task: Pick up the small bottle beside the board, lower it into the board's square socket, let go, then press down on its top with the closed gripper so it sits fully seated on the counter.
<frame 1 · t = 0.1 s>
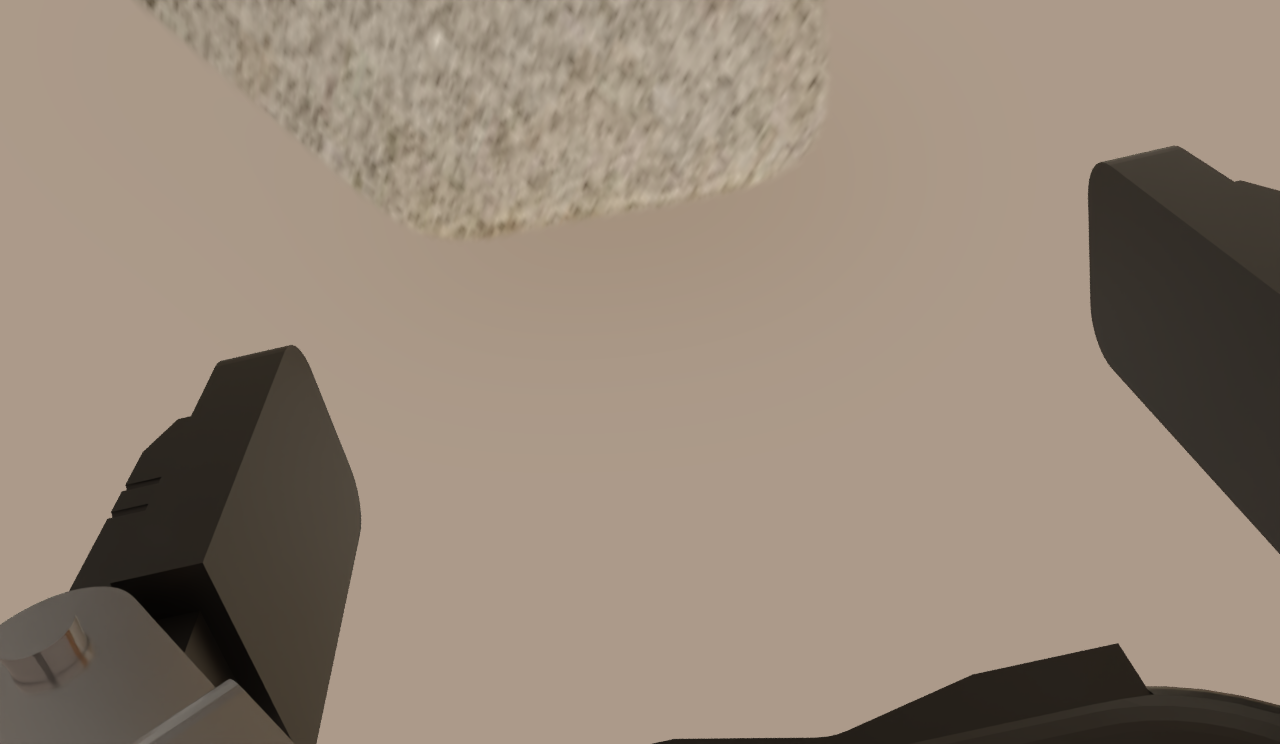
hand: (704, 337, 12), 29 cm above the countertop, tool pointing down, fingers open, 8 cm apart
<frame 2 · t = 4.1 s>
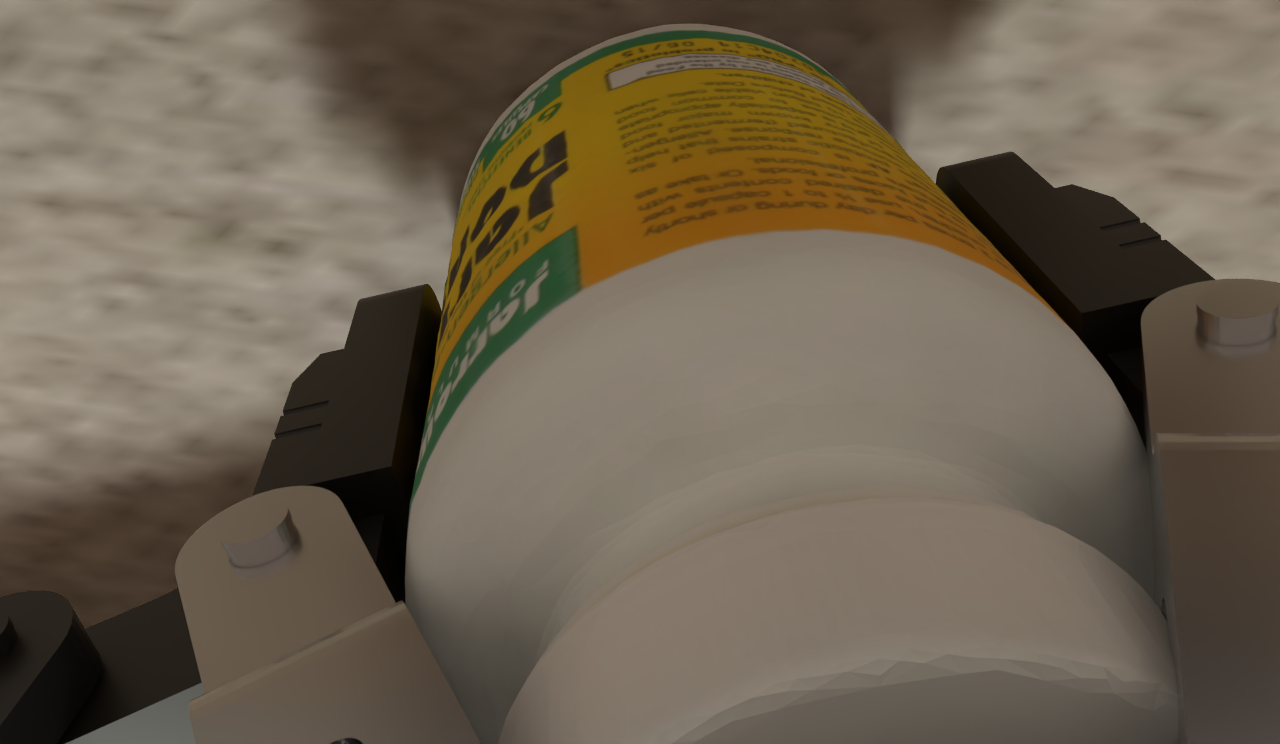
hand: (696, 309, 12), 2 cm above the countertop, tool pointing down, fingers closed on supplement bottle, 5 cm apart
supplement bottle: (677, 231, 14), on the countertop, touching gripper
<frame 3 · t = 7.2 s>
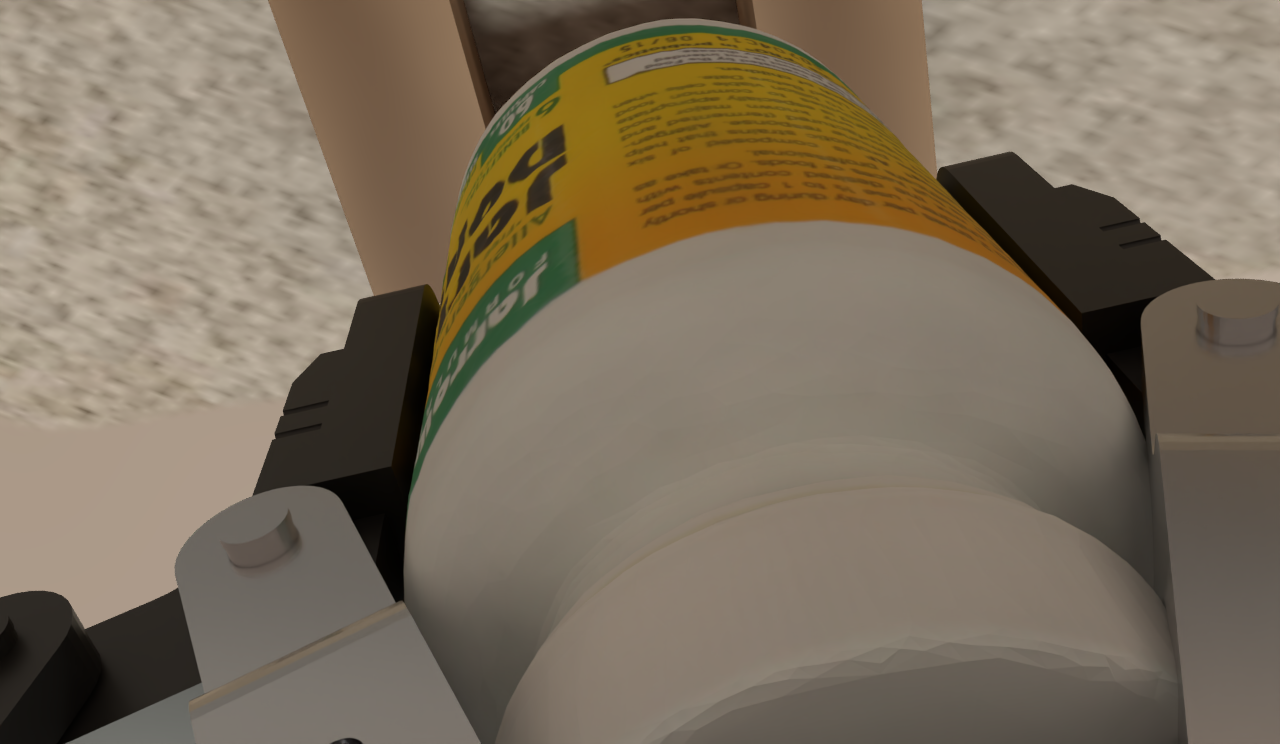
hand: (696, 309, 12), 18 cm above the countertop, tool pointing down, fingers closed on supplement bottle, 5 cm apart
supplement bottle: (675, 226, 14), point 16 cm above the countertop, touching gripper
when the fingers open (5 cm above the countertop, at t = 10.4 s): supplement bottle drops 3 cm, resting in socket board.
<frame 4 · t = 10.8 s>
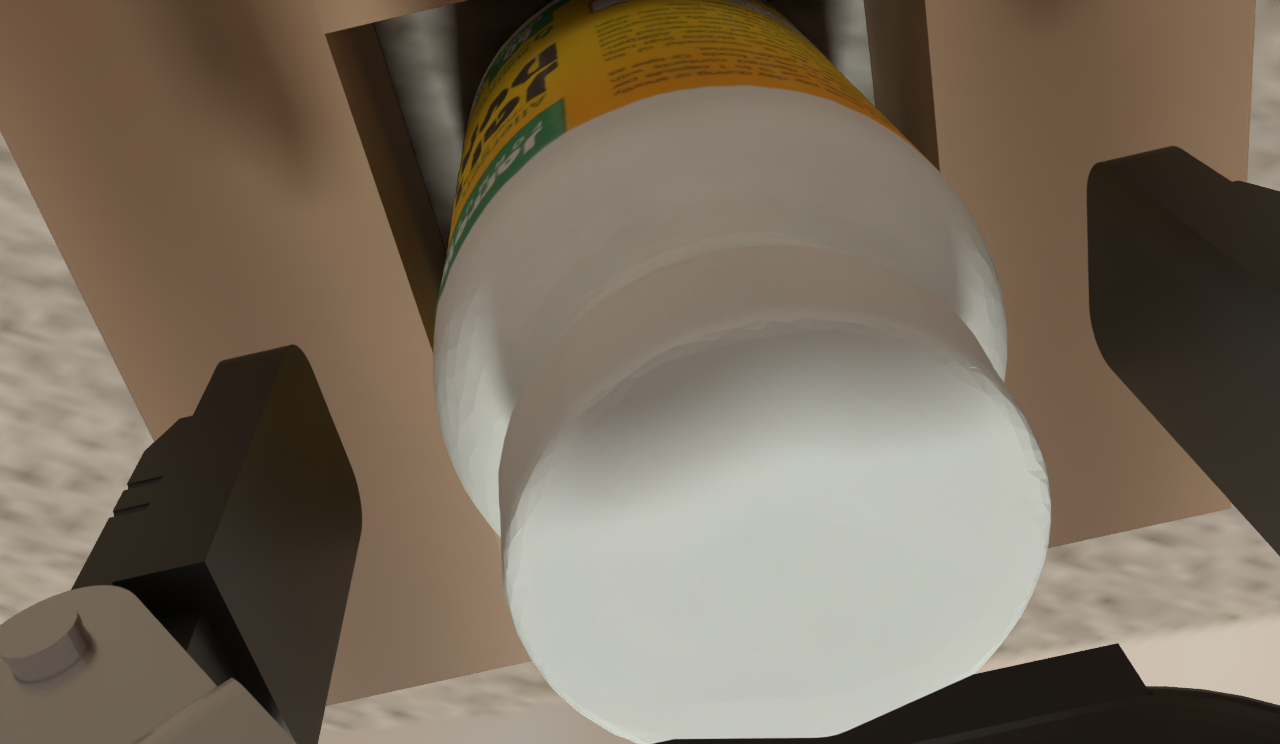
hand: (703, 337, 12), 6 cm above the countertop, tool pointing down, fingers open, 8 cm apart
socket board: (652, 158, 17), on the countertop
supplement bottle: (651, 149, 17), resting in socket board
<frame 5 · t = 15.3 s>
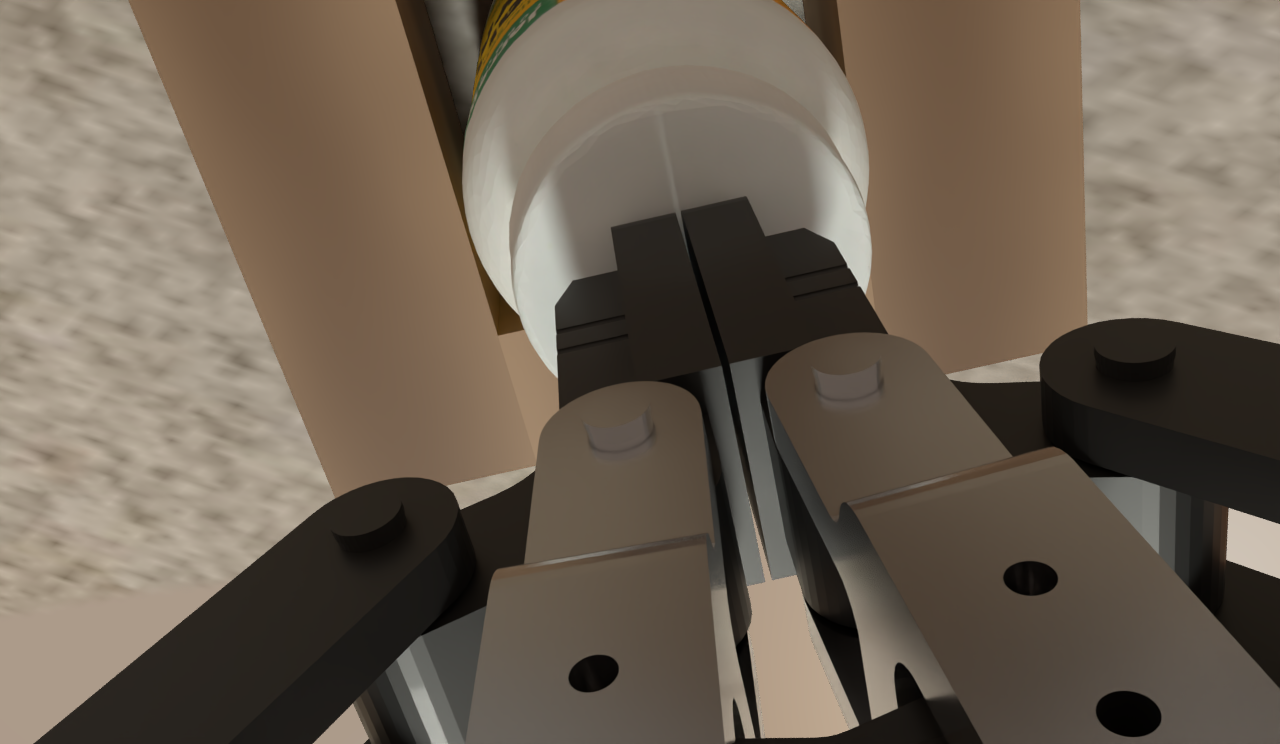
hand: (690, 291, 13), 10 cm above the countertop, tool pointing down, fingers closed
socket board: (629, 65, 21), on the countertop
supplement bottle: (628, 58, 21), resting in socket board, touching gripper
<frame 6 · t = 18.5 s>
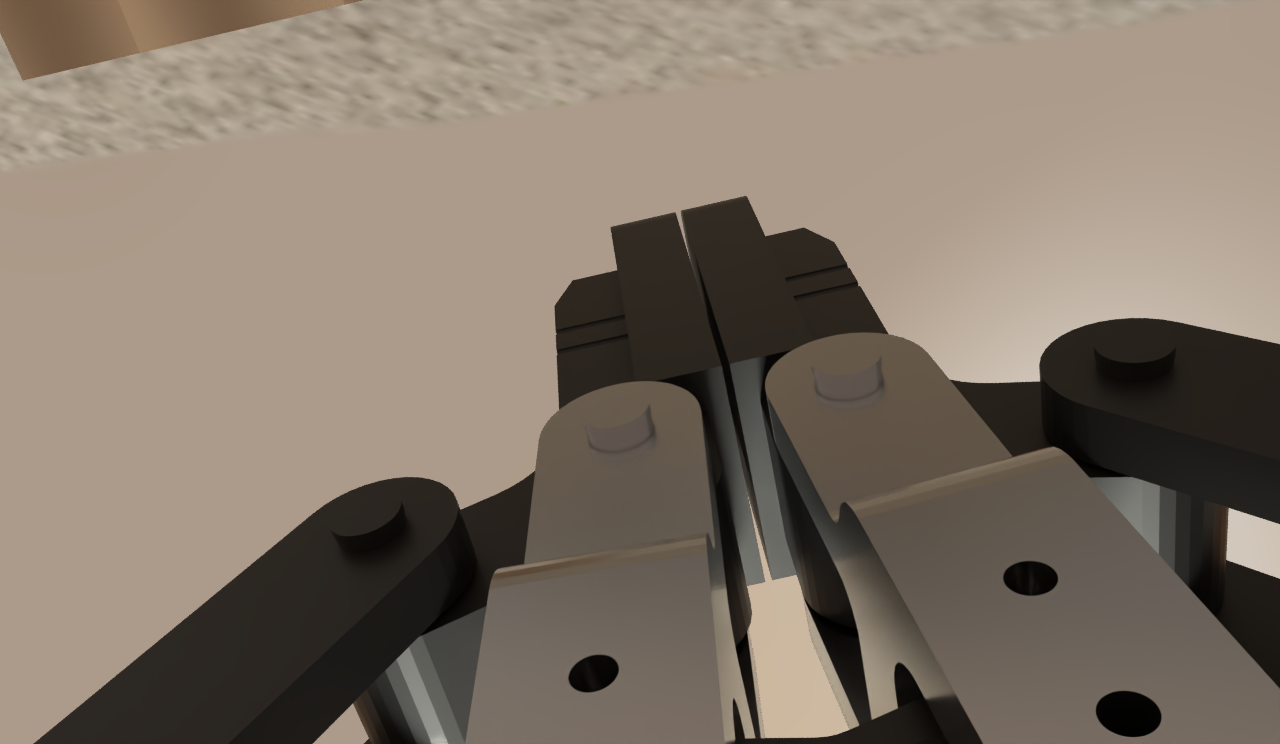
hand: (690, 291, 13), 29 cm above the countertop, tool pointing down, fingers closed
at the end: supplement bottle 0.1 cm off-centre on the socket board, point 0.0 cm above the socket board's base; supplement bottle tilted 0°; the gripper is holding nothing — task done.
